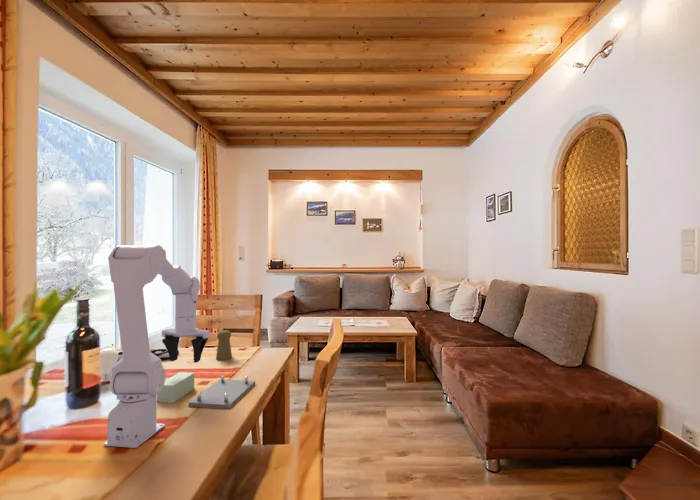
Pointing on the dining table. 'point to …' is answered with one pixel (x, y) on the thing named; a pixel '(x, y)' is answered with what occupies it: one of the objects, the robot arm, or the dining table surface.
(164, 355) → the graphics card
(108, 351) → the lightbulb
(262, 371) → the dining table surface
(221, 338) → the olive pepper mill
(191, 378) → the sage green block
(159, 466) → the dining table surface
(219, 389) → the pin holder
